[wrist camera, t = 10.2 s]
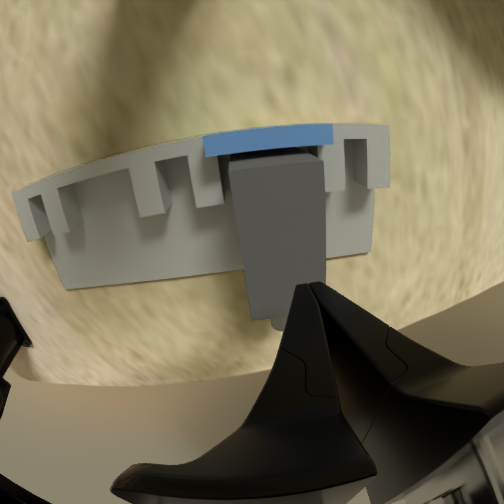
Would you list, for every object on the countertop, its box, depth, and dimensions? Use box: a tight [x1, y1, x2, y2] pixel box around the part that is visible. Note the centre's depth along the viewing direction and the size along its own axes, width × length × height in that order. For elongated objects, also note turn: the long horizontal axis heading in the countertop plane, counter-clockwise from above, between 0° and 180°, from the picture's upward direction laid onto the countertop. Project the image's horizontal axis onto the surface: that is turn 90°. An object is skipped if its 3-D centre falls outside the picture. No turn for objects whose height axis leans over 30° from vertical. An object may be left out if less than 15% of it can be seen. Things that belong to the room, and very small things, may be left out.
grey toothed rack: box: [12, 123, 390, 290], centre depth 15 cm, size 9×24×4 cm, turn 97°
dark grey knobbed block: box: [228, 147, 326, 331], centre depth 15 cm, size 10×4×6 cm, turn 7°
